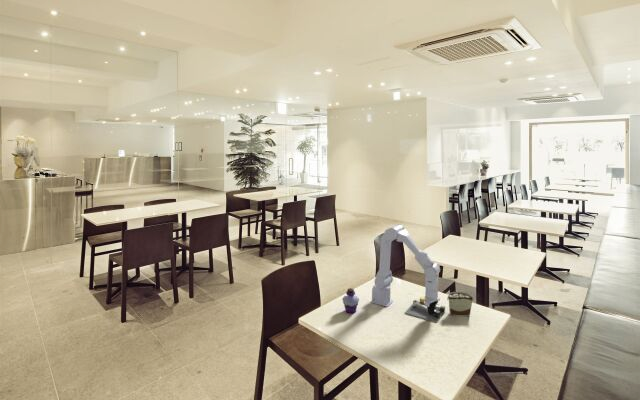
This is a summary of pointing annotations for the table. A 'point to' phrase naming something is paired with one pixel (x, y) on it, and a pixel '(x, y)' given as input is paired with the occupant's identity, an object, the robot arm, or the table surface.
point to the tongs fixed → (438, 308)
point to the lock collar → (422, 300)
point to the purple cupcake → (350, 301)
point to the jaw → (425, 308)
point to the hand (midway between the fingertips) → (431, 314)
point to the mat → (421, 314)
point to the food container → (460, 303)
